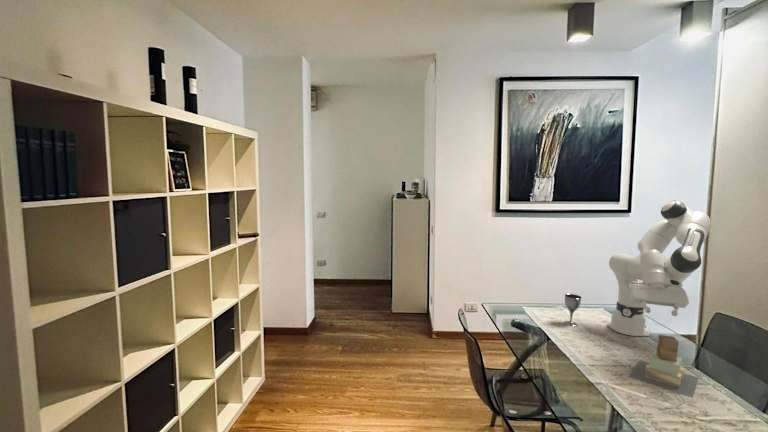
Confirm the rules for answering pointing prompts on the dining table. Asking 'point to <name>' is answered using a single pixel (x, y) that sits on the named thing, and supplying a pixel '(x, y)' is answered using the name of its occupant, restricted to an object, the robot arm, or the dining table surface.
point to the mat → (685, 387)
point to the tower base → (664, 376)
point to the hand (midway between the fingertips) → (661, 313)
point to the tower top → (665, 364)
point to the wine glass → (572, 306)
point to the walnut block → (667, 348)
